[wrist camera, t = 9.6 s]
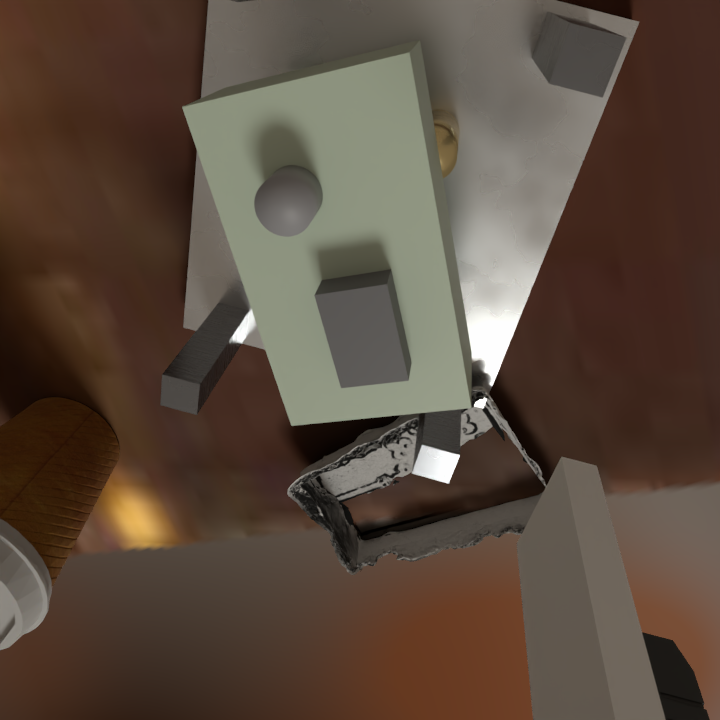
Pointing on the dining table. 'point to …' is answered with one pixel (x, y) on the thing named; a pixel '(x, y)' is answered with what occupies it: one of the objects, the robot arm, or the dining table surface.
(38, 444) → the disposable coffee cup
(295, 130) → the board
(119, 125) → the dining table surface
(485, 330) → the chassis
